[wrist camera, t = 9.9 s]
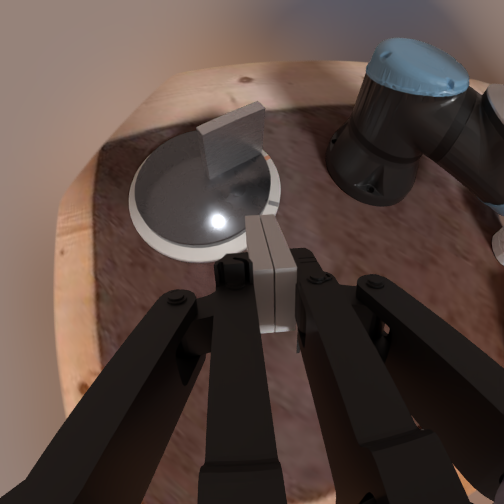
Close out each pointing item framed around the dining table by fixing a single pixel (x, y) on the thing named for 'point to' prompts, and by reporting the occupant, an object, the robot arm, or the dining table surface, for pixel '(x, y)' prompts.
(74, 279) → the dining table surface
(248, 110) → the dial
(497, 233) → the white cup
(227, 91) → the dining table surface
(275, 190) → the dial base
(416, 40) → the robot arm
